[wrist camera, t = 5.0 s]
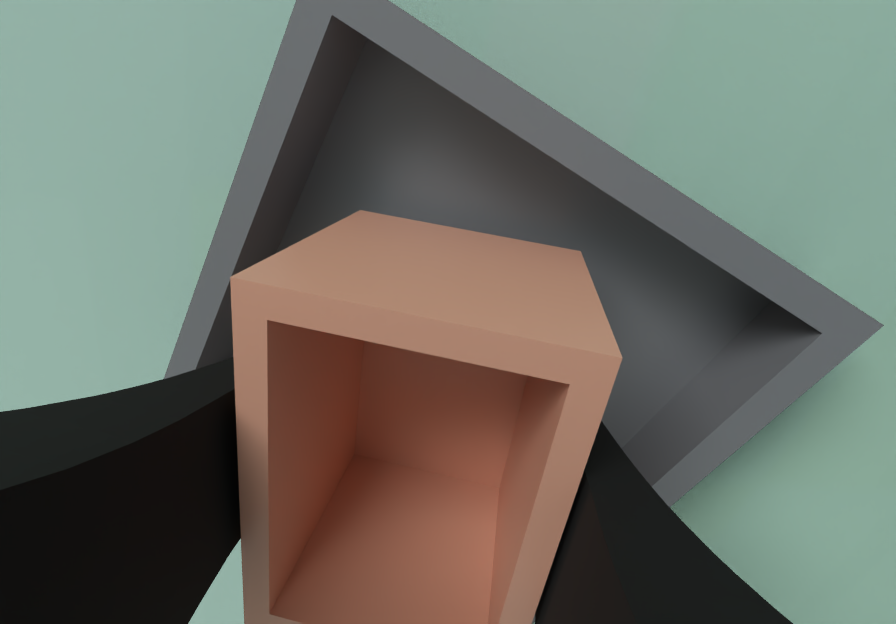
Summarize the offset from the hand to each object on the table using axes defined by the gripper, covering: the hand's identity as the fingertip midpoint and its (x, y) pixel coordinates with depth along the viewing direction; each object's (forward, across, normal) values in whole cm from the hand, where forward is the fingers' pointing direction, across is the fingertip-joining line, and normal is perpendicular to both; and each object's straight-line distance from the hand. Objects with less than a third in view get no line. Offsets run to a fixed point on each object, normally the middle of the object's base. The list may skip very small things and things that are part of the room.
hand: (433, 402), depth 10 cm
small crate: (+2, 0, 0) cm, 2 cm away
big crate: (+3, 0, 0) cm, 3 cm away
